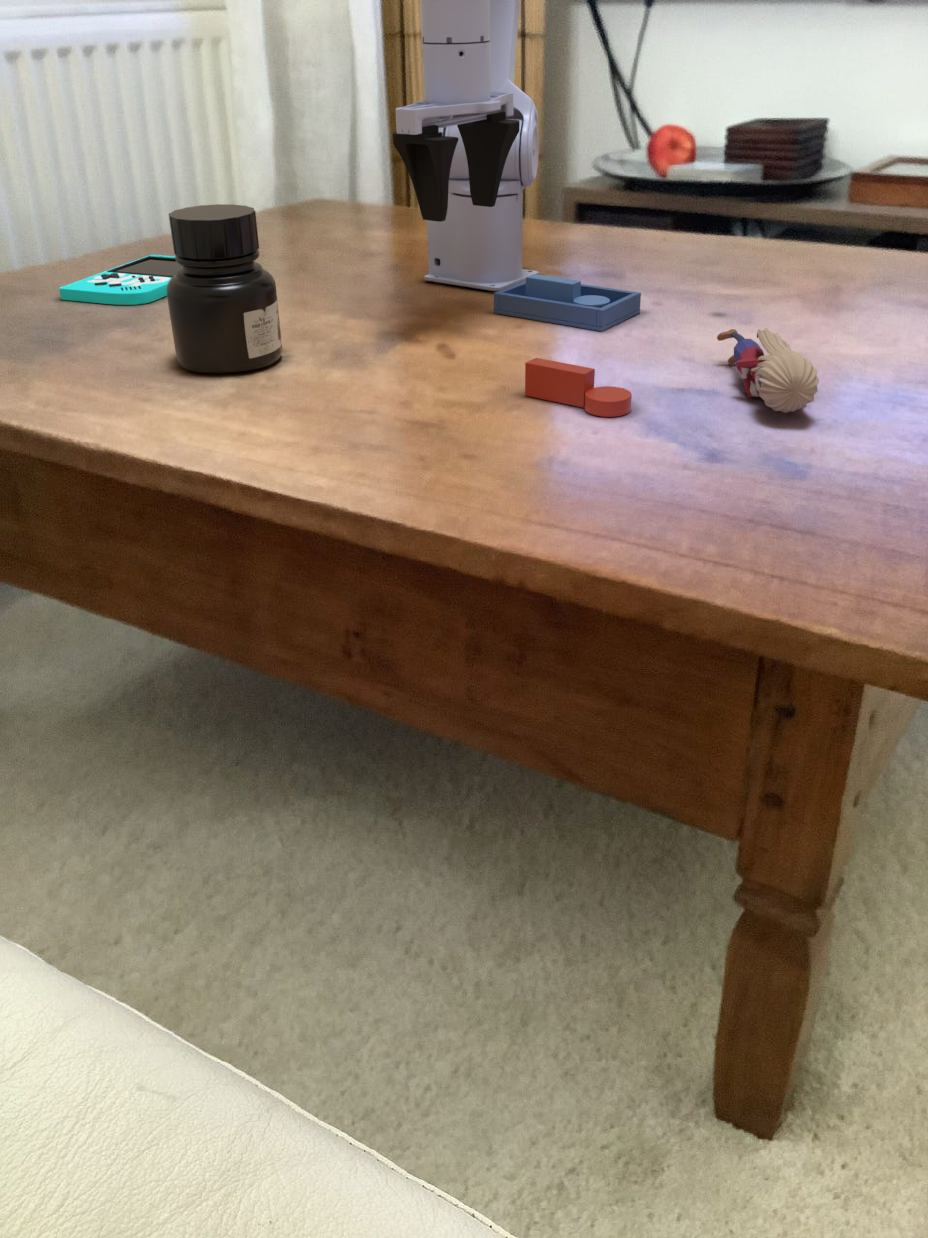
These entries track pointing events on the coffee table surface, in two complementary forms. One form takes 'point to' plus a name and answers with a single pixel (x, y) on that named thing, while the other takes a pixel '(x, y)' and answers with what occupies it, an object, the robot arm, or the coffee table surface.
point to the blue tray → (569, 307)
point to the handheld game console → (125, 283)
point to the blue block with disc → (561, 291)
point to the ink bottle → (221, 292)
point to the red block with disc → (574, 388)
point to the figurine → (773, 371)
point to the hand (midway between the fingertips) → (459, 212)
